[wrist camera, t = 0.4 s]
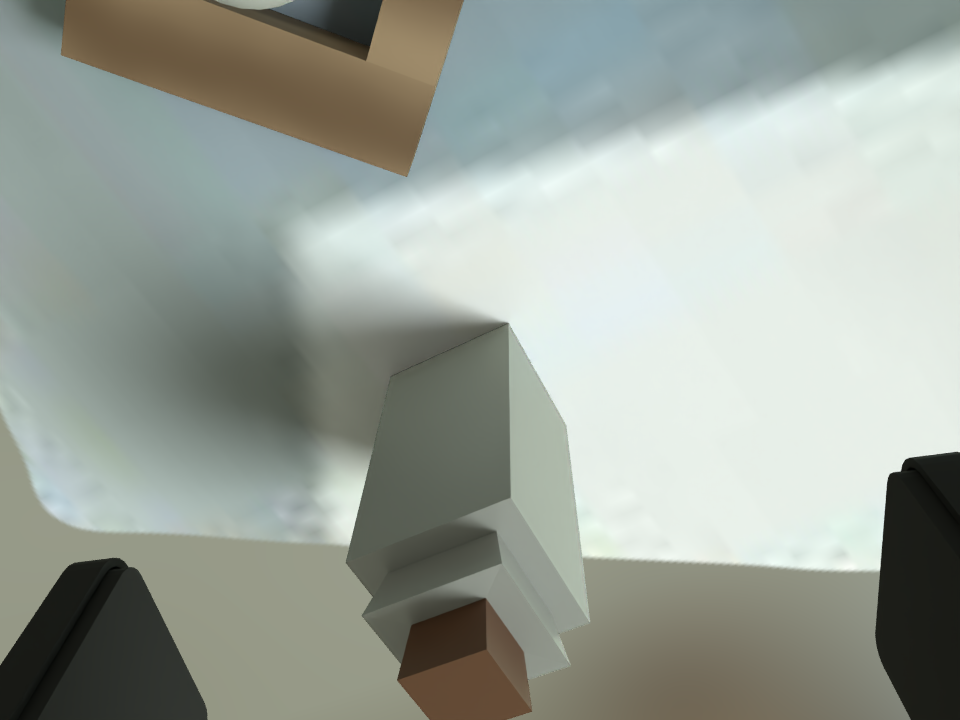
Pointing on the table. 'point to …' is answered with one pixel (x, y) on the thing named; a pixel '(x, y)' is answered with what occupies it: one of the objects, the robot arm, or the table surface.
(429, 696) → the perfume bottle
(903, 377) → the table surface
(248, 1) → the lightbulb
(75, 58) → the walnut holder
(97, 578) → the robot arm
